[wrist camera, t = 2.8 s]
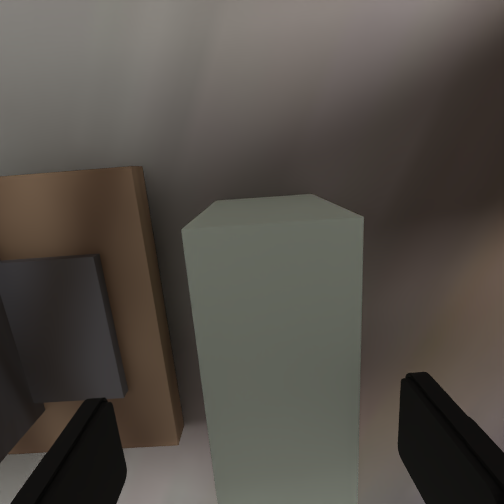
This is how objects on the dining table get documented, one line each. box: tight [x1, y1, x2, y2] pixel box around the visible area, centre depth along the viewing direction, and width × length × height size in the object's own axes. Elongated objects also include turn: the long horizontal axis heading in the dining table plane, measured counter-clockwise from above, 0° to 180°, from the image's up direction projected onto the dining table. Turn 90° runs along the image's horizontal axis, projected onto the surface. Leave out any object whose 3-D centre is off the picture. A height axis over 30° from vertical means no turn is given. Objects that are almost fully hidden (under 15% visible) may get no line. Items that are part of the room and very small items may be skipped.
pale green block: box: [181, 194, 364, 504], centre depth 14 cm, size 5×12×8 cm, turn 4°
